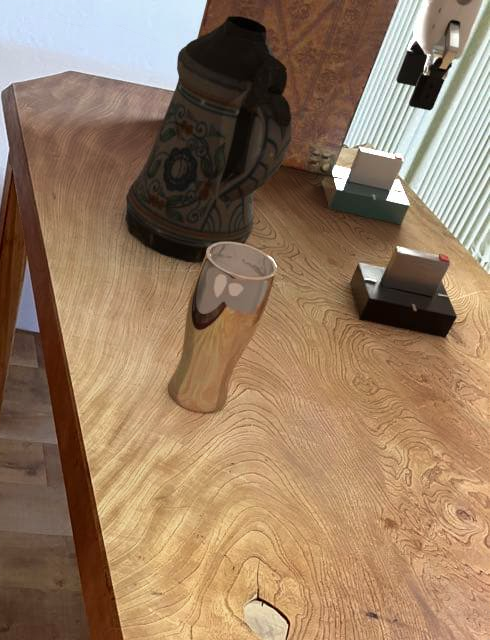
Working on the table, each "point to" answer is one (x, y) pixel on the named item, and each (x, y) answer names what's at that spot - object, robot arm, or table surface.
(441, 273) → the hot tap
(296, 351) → the table surface
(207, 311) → the beer glass
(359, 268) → the base
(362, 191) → the base
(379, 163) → the cold tap
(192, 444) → the table surface
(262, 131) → the beer stein
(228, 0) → the book
